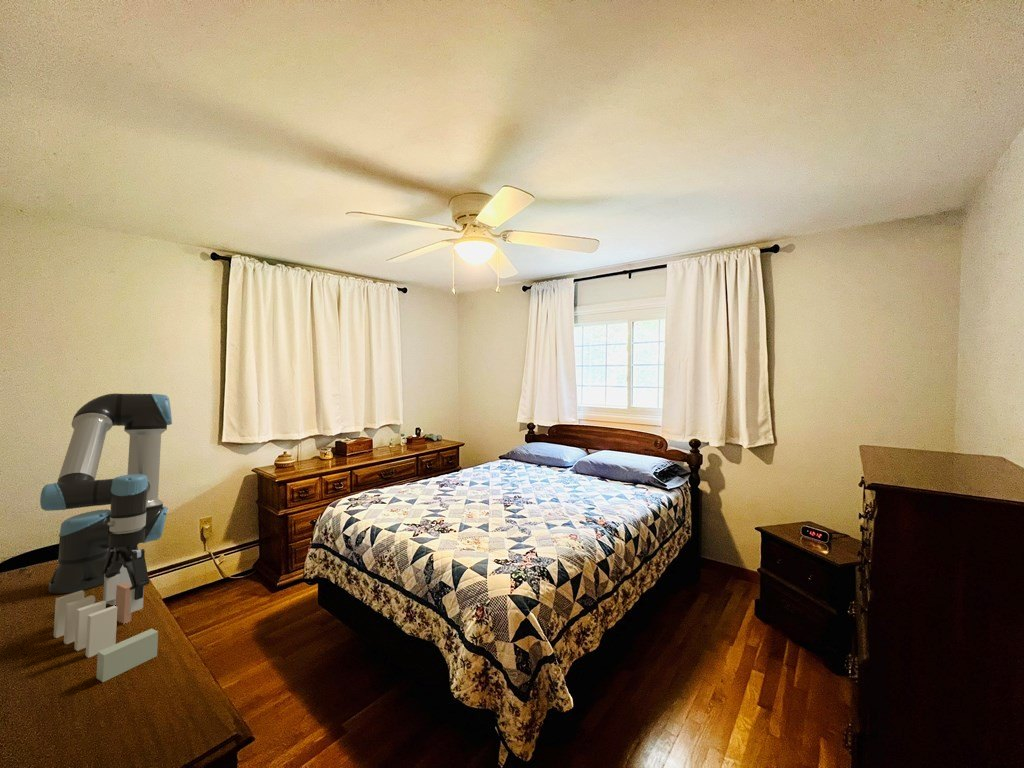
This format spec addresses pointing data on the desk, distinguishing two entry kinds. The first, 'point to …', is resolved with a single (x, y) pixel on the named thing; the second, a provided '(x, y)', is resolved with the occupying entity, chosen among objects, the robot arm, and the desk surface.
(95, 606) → the domino
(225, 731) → the desk surface
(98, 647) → the domino
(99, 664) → the end block
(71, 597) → the domino
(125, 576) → the skincare box
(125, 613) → the domino
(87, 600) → the domino
